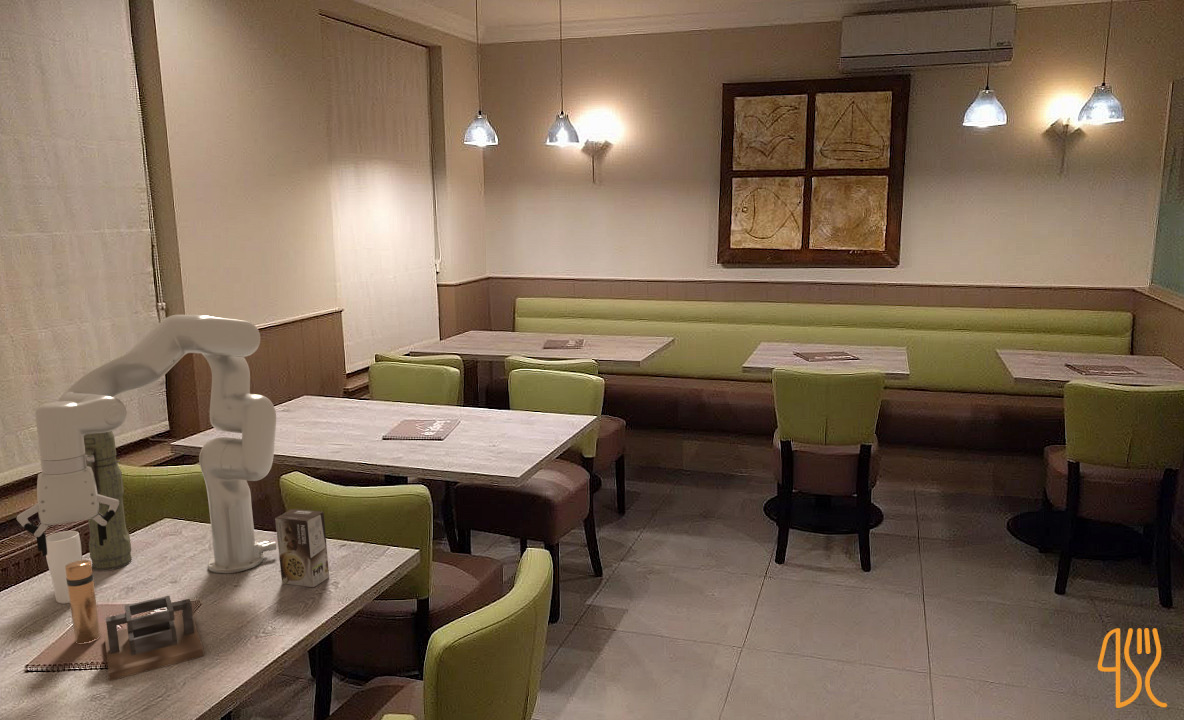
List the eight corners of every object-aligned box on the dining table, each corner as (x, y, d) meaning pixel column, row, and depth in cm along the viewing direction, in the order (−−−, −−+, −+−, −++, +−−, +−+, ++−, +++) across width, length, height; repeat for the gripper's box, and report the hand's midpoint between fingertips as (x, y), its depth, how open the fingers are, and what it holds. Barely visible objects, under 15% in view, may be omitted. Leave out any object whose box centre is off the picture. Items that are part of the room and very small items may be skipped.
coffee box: (330, 576, 201) (325, 511, 198) (313, 588, 195) (307, 520, 192) (298, 572, 204) (292, 507, 201) (280, 583, 198) (274, 517, 195)
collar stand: (192, 619, 181) (187, 582, 179) (203, 655, 166) (199, 614, 164) (105, 640, 173) (100, 601, 171) (109, 680, 157) (103, 637, 156)
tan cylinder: (100, 631, 177) (91, 558, 174) (101, 640, 173) (91, 565, 170) (74, 637, 174) (64, 563, 172) (74, 646, 170) (64, 570, 168)
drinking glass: (71, 607, 188) (62, 542, 186) (45, 605, 190) (36, 540, 187) (94, 593, 195) (86, 531, 192) (69, 591, 196) (60, 529, 194)
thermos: (84, 575, 205) (66, 433, 200) (99, 556, 217) (82, 422, 211) (125, 570, 208) (108, 430, 202) (137, 552, 219) (121, 419, 213)
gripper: (113, 454, 175) (122, 534, 178) (12, 467, 166) (22, 552, 169) (115, 462, 169) (124, 545, 171) (9, 476, 160) (20, 564, 162)
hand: (73, 548), depth 170 cm, fingers open, 9 cm apart
